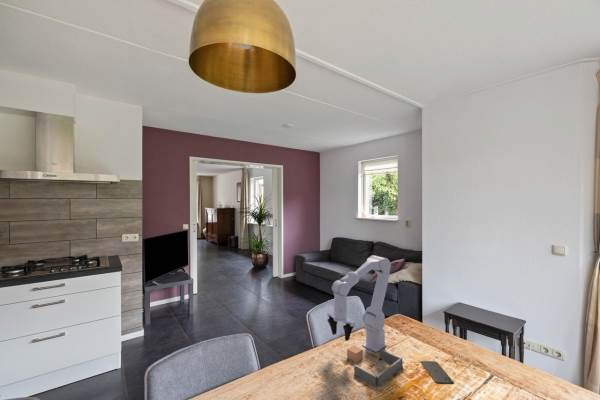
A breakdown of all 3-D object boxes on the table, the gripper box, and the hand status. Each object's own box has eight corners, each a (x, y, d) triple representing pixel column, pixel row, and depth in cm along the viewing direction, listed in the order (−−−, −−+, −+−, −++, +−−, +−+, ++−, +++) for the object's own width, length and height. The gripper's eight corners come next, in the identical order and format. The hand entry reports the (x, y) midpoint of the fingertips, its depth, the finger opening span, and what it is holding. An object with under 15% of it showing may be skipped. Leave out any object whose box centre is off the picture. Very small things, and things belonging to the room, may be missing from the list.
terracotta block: (353, 353, 127) (353, 345, 127) (362, 358, 123) (362, 349, 123) (347, 357, 123) (347, 349, 123) (356, 362, 119) (356, 353, 120)
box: (380, 356, 124) (380, 348, 124) (402, 366, 116) (402, 358, 116) (354, 373, 111) (354, 365, 111) (377, 387, 103) (377, 377, 103)
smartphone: (436, 360, 120) (455, 382, 105) (436, 362, 120) (455, 385, 105) (419, 360, 120) (436, 382, 105) (419, 362, 120) (436, 384, 105)
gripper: (323, 305, 127) (323, 334, 127) (347, 314, 117) (348, 346, 116) (332, 301, 132) (333, 329, 132) (357, 310, 121) (357, 340, 121)
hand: (340, 336), depth 124 cm, fingers open, 7 cm apart
